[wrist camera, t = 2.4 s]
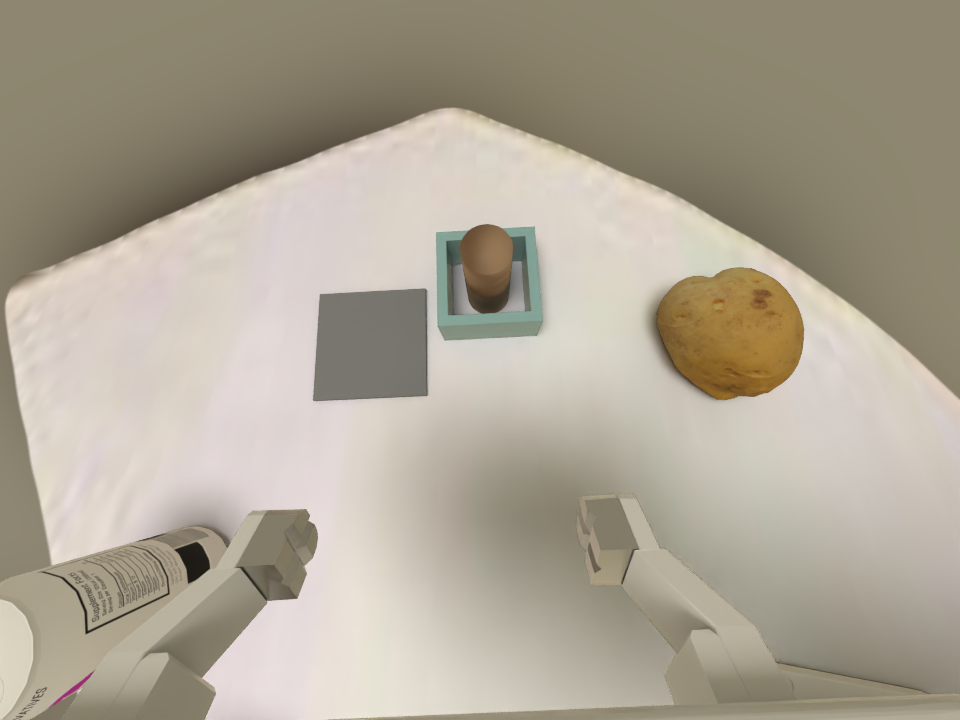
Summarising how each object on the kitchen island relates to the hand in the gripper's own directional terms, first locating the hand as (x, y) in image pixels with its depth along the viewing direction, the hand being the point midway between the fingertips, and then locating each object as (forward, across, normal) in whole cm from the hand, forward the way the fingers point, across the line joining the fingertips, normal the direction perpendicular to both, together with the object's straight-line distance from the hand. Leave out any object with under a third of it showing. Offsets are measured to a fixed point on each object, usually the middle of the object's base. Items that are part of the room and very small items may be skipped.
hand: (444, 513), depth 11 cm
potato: (+25, -24, +10) cm, 37 cm away
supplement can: (+12, +28, +25) cm, 39 cm away
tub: (+31, -2, +6) cm, 31 cm away
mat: (+27, +11, +9) cm, 31 cm away
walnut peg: (+31, -2, +6) cm, 31 cm away
